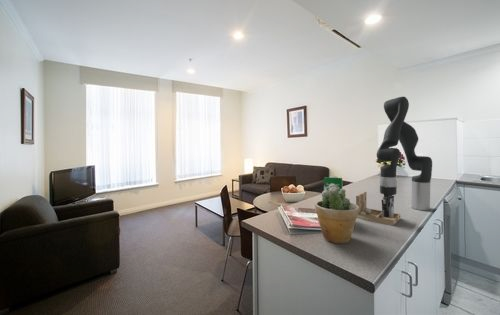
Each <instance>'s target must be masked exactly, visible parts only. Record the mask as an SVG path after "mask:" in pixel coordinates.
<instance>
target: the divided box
mask: <svg viewBox="0 0 500 315" xmlns="http://www.w3.org/2000/svg"><path fill="white" fill-rule="evenodd" d="M355 198H356V200H355V201H356V202H355V204H356V205H358V206H359V212H358V217H357V218H356V219H361V220H365V221H370V222H373V223H380V224H384V225H389V226H392V227H394V226H395V225H396V224H397V222H399V221H400V220H401V214H400V213H396V212H394V217H393V218H392V219H391V218H386V217H382V210H380V209H379V210H378V209H373V208H369V209H370V210H371V213H370V214H367V213H366V212H365V209H367V208H368V207H367V191H364V192H362V193H360V194H358V195H356V196H355ZM360 212H365V213H366V215H363V214H360Z"/></svg>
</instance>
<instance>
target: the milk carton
mask: <svg viewBox="0 0 500 315" xmlns="http://www.w3.org/2000/svg"><path fill="white" fill-rule="evenodd" d="M331 184H335V185H337V186H338V188H339V191H340V189H343V178H342V177H338V176H335V175H334V176H333V175H331V176H329V177H327V176H325V177H323V191H325V190H327V191H329V190H328V189H329V188H328V187H329V185H331Z"/></svg>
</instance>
